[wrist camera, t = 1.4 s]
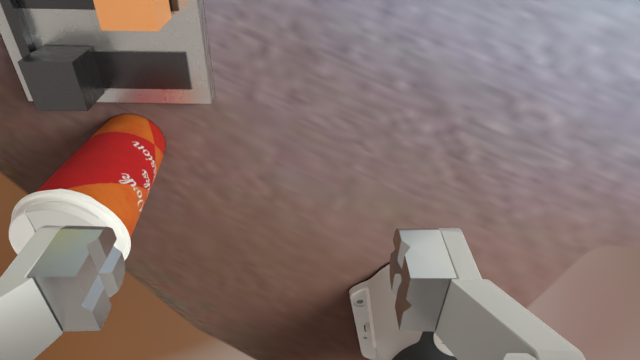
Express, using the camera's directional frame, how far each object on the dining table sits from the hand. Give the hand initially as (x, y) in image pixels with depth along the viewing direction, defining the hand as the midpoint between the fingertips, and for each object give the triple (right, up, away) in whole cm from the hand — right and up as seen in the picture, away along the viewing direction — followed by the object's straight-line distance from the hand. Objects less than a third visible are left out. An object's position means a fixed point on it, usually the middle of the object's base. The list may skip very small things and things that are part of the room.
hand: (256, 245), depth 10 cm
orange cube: (-12, +16, +21) cm, 29 cm away
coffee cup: (-17, +6, +32) cm, 37 cm away
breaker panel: (-16, +15, +25) cm, 33 cm away
